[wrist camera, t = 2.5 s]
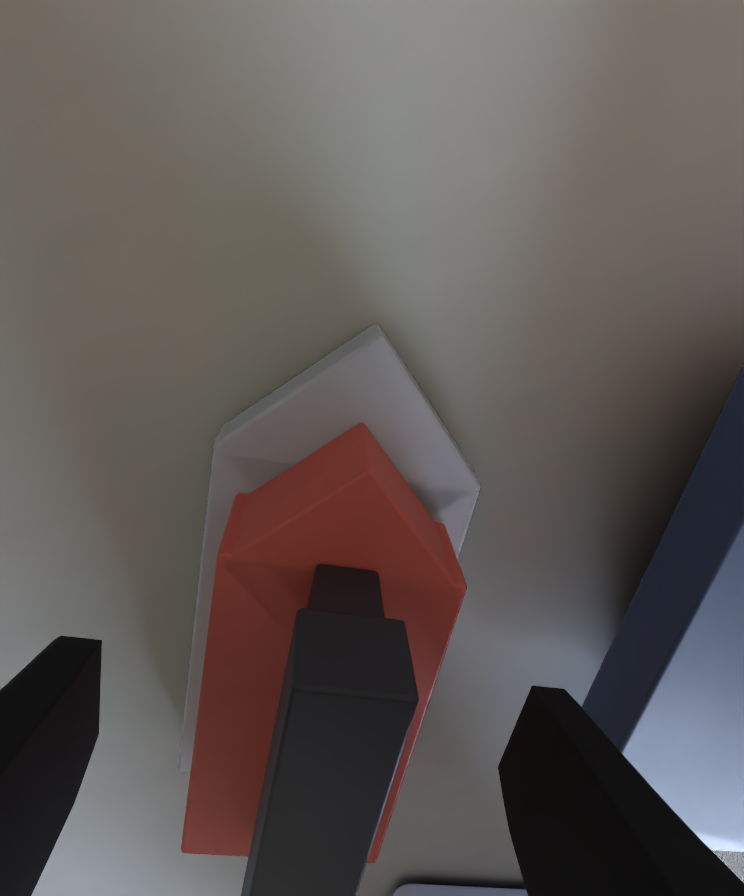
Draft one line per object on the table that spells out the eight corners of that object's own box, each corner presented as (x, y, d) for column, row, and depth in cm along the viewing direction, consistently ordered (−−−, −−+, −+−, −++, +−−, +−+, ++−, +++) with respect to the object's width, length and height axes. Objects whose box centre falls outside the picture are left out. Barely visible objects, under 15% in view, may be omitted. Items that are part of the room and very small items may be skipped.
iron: (383, 753, 15) (411, 1043, 10) (186, 736, 14) (106, 1040, 9) (505, 348, 11) (667, 486, 6) (236, 295, 10) (142, 397, 5)
